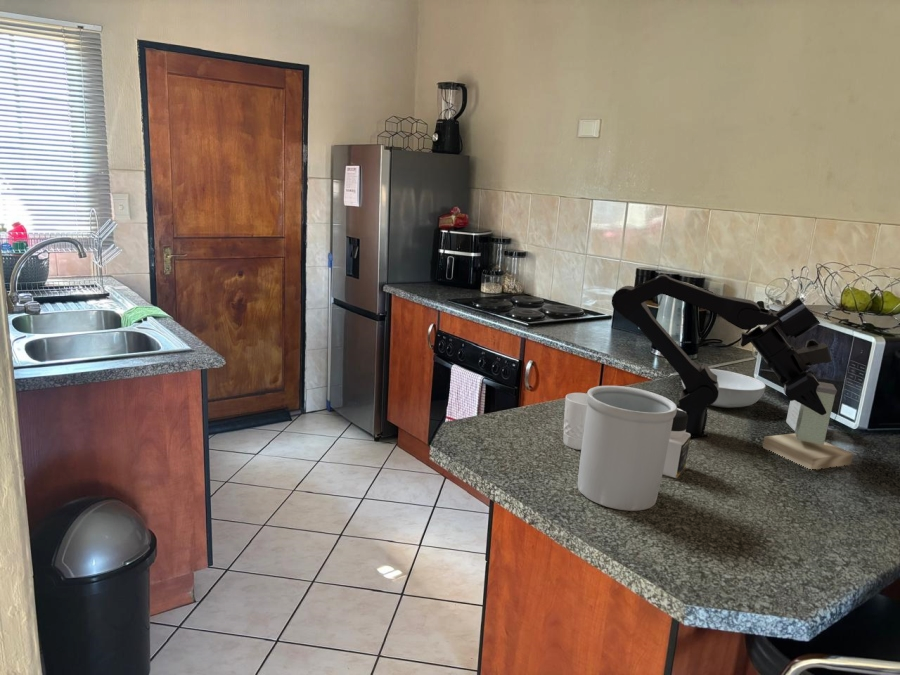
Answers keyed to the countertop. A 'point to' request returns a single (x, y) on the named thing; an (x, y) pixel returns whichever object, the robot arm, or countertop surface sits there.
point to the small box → (793, 414)
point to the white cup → (574, 419)
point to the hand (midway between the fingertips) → (822, 410)
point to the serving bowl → (736, 389)
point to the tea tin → (816, 417)
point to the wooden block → (807, 452)
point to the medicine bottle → (677, 446)
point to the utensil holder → (624, 446)
